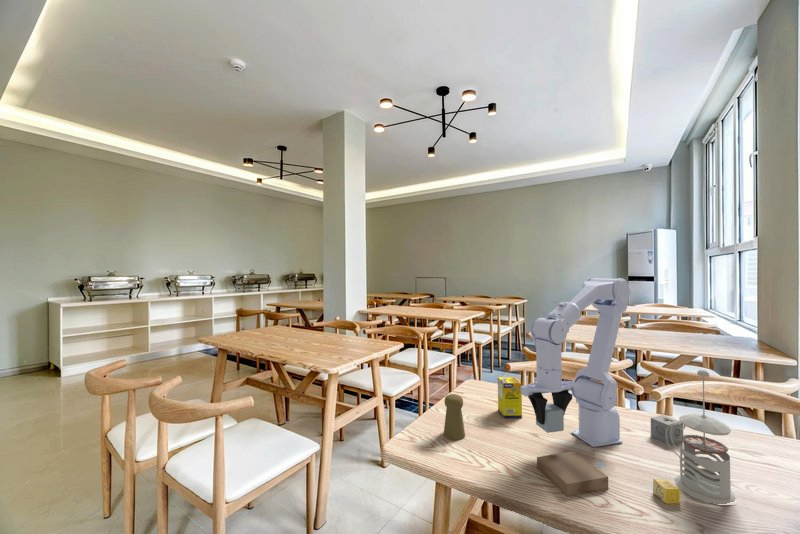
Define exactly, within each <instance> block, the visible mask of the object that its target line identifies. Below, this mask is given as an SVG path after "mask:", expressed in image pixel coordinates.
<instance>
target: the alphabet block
mask: <svg viewBox="0 0 800 534" xmlns="http://www.w3.org/2000/svg"><path fill="white" fill-rule="evenodd" d="M652 482H653V483H652V486H653V487H652V493H653V494H654V495H656V497H657V498H659V499H660V500H661V501H662V502H663V503H664V504H679V503H680V501H681V500H680V498H681V497H680V496H681V495H680V494H681V489H680V488H679V487H678V486H677V485H676V484H674V483H673V482H671V481H670V480H669V479H667V478H653V481H652Z"/></svg>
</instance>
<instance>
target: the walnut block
mask: <svg viewBox="0 0 800 534" xmlns="http://www.w3.org/2000/svg"><path fill="white" fill-rule="evenodd" d="M536 469H537V470H538V471H540V473H542V474H543V475H544V476H545V477H546V478H547V479H548V480H549V481H550V482H551V483H552V484H554V486H555V487H557V488H558V490H560V492H562V493H563V494H564V495H565V496H566V497H568V498H569V497H572V496H577V495H578V496H579V495H583V494H588V493H595V492H600V491H604V490H609V476H608V475H606V474H605V473H604V472H602V471H601V470H600V469H598V468H597V466H595V465H593V464H592V463H591V462H589V461H588V460H587V459H585V458H584V457H583V456H581V455H579V453H577V452H576V451H567V452H561V453H560V452H559V453H554V454H548V455H542V456H537V457H536Z"/></svg>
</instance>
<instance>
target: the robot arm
mask: <svg viewBox="0 0 800 534" xmlns="http://www.w3.org/2000/svg"><path fill="white" fill-rule="evenodd" d="M629 285H630V284H629V283H628V281H627V280H626V278H623V277H622V278H621V277H619V278H601V277H599V278H598V277H588V278H587V279H586V280H585V281H584V282H583V283H582V287H581V289H580V290H579V292H578V293H577V294H576V295H574V297H573V298H572V299H571V300H570V301H561V302H560V303H558V306H556V307H555V308H554V309H553V310H552V311H550V312H549V313H547V315H546V316H545V317H538V318H537V319H535V320H534V321H533V323H532V325H531V328H530V335H531V337H532V339H533V345H534V347H535V350H536V351H535V352H536V354H535V357H536V358H535V359H536V360H535V361H536V381H535V382H531V383H528V384H525V385H522V386H521V394H522V396H524V397H527V398H528V400H529V401H530V403H531V405H532V409H533V411H534V414H535V420H536V419H537V422H539V423H540V424H541V425H544V423H545V408H546V404H547V403H548V399H547V398H546V397H544V395H543V394H551V398H552V403H553V404H554V405H556V406H558V407H559V408H561V409H562V410H564V415H565V413H566V410H567V408H568V405H569V404H570V402H571V401H572V400H573V398H575V402H576V403H577V405H578V429H574V430H571V434H573V435H574V436H576V437H577V438H579V439H580V440H582V441H583V442H584V443H586V444H588V445H589V446H591V447H592V448H593V447H594V448H597V447H602V446H609V445H614V444H615V445H616V444H622V443H623V442H624V441H623V440H622V439H621V433H620V432H621V430H620V428H621V426H620V425H621V424H620V415H619V412H618V410H617V408H616V407H615V406H616V404H617V401H618V383H617V381H616V380H615V379H614V377H613V376H612V375H611V373H609V372H610V369H611V365H612V364H611V363H612V359H613V355H614V351H615V346H616V342H617V338H618V334H619V329H620V326H621V325H620V324H621V320H622V316H623V313H624V312H626V311H627V310H628V309H627V308H628V305H629V301H630V296H631V289H630V286H629ZM589 306H593V308H594V309H595V310H598V312H599V316H598V319H597V324H596V327H595V332H594V337H593V340H592V344H591V349H590V352H589V357H588V360H587V366H585V367H583V368H581V369H579V370H577V371H576V375H575V377H574V379H573V380H567V381H565V380H563V379H562V377H563V376H562V375H563V374H562V372H563V370H562V368H563V367H562V365H563V364H562V343H564V342H565V341H566V339H567V335H568V333H569V331H570V329H571V328H572V327H573V326H574V325H575V324H576V323H577V322H578V321H579V320H580V319H581V317H582V312H583V311H585V309H587V308H588V307H589ZM570 392H571V393H570Z"/></svg>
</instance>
